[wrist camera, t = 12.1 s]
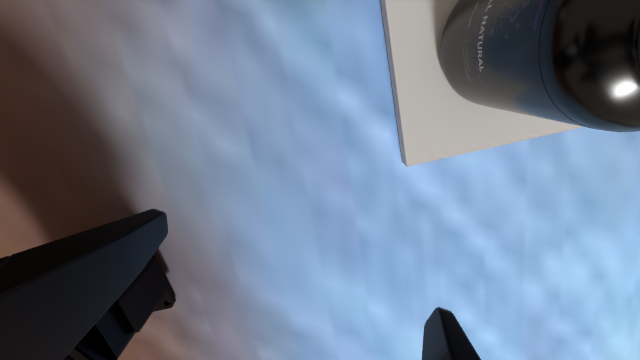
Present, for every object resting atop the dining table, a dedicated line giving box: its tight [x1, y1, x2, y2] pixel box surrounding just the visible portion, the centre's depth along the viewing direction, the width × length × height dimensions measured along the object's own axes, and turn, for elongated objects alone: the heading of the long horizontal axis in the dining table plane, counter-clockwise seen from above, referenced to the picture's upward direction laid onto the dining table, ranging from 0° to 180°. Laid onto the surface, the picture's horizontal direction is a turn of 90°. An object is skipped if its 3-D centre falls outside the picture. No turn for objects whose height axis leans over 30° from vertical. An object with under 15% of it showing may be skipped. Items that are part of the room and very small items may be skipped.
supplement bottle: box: [440, 0, 640, 132], centre depth 11 cm, size 7×7×12 cm
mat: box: [380, 0, 583, 166], centre depth 17 cm, size 12×12×1 cm
